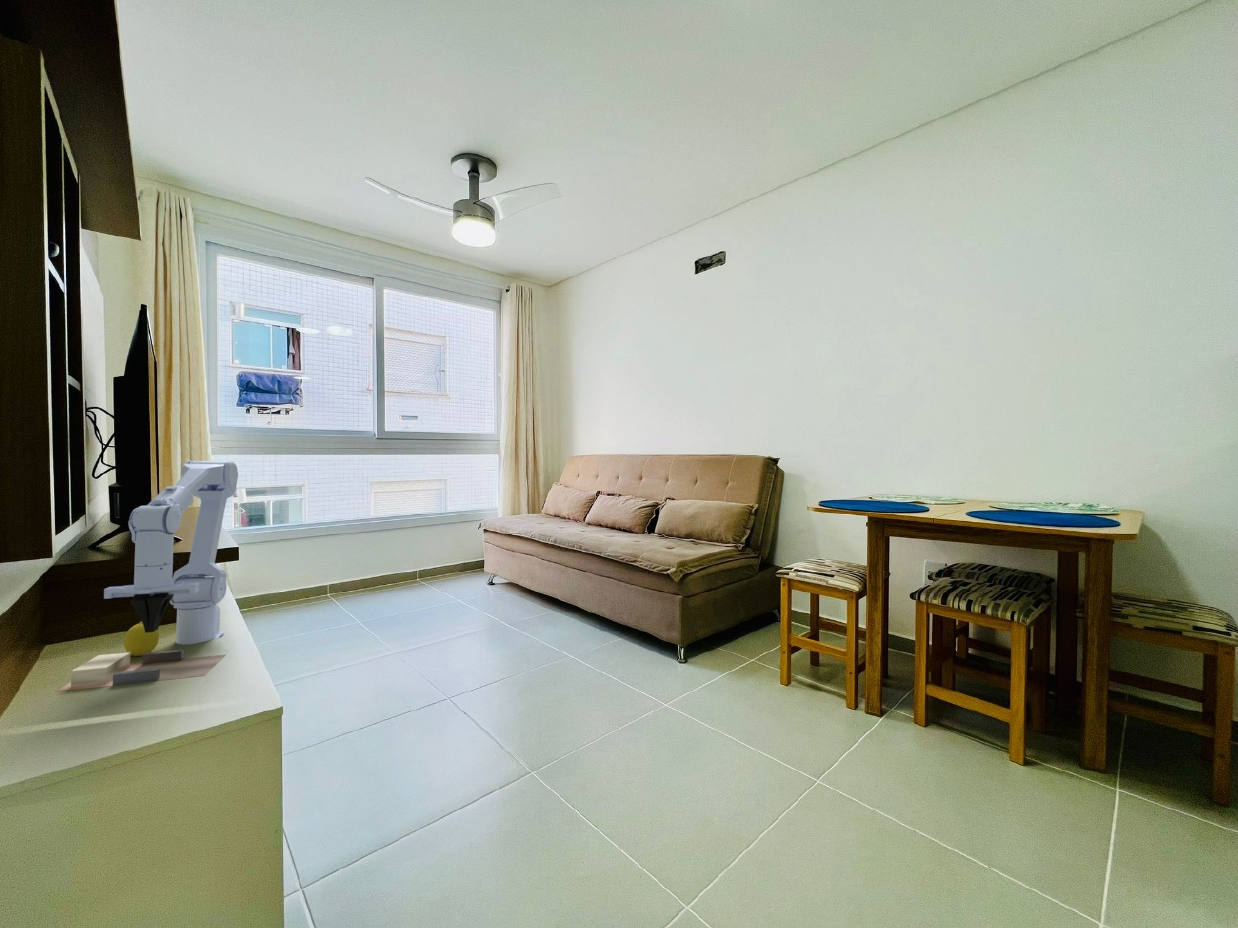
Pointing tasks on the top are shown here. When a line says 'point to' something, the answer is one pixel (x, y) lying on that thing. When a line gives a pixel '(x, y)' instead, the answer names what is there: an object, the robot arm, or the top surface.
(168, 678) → the board
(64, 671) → the top surface
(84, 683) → the block
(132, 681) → the channel
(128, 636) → the lemon
